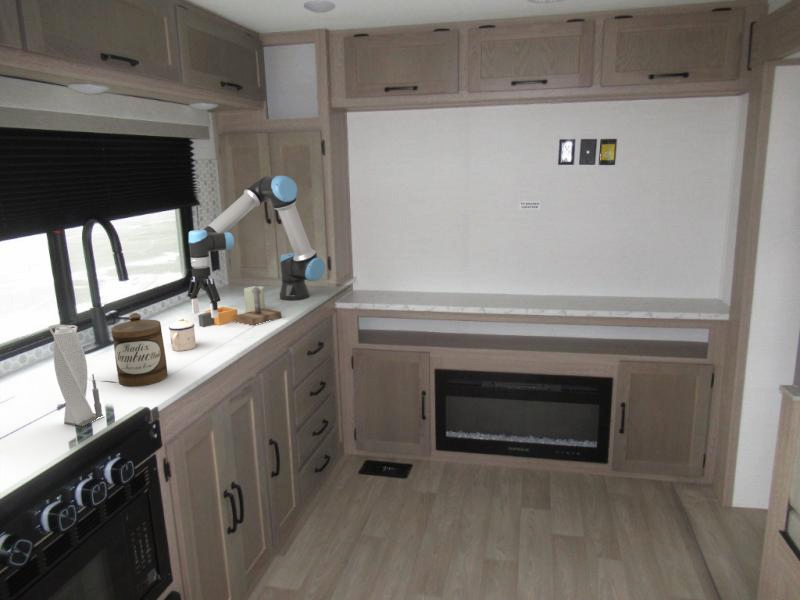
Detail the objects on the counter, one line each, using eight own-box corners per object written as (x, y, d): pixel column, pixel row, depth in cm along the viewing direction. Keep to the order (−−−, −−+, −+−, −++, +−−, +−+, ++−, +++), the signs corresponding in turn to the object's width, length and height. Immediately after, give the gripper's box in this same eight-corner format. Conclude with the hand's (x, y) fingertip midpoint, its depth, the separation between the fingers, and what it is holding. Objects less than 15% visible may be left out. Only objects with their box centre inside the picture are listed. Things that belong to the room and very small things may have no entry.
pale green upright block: (268, 309, 282) (266, 285, 280) (262, 314, 274) (259, 289, 271) (249, 309, 283) (247, 285, 281) (242, 314, 275) (240, 289, 272)
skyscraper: (78, 429, 157) (61, 327, 150) (56, 425, 160) (39, 324, 153) (104, 416, 164) (89, 318, 158) (83, 412, 167) (67, 316, 161)
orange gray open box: (224, 317, 271) (223, 306, 270) (238, 320, 265) (237, 309, 264) (194, 324, 259) (193, 313, 258) (208, 328, 253) (207, 316, 252)
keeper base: (263, 314, 274) (261, 283, 270) (281, 317, 266) (278, 285, 263) (235, 322, 261) (232, 289, 258) (253, 326, 254) (250, 292, 251)
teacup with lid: (177, 344, 231) (174, 315, 228) (200, 344, 230) (197, 315, 227) (163, 354, 219) (160, 323, 216) (187, 353, 218) (184, 323, 216)
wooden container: (115, 389, 185) (105, 321, 180) (122, 374, 199) (113, 310, 194) (165, 383, 189) (157, 316, 184) (169, 368, 203) (162, 306, 198)
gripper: (176, 265, 257) (180, 313, 261) (210, 270, 242) (215, 320, 246) (191, 263, 262) (195, 310, 267) (226, 267, 248) (230, 317, 252)
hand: (205, 315), depth 257 cm, fingers open, 13 cm apart
